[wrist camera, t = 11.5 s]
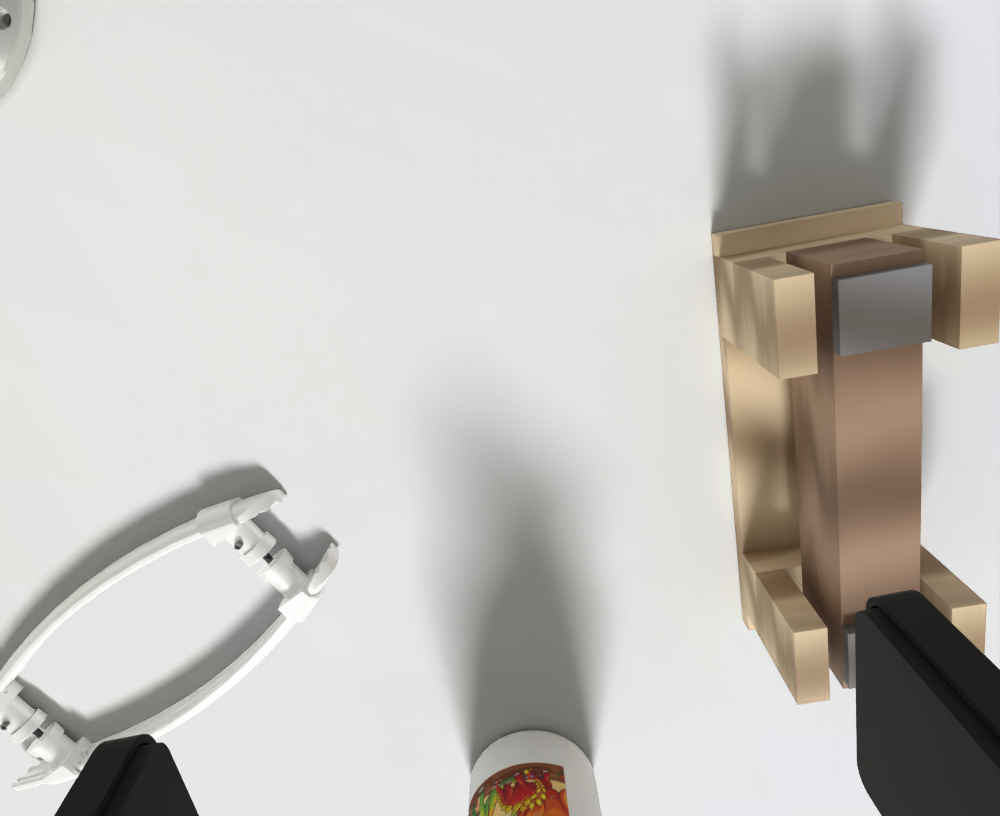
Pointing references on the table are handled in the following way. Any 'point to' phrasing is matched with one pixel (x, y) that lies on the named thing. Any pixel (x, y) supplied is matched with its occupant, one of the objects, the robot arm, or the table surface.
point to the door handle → (299, 600)
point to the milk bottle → (533, 778)
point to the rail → (861, 432)
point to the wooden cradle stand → (770, 414)
